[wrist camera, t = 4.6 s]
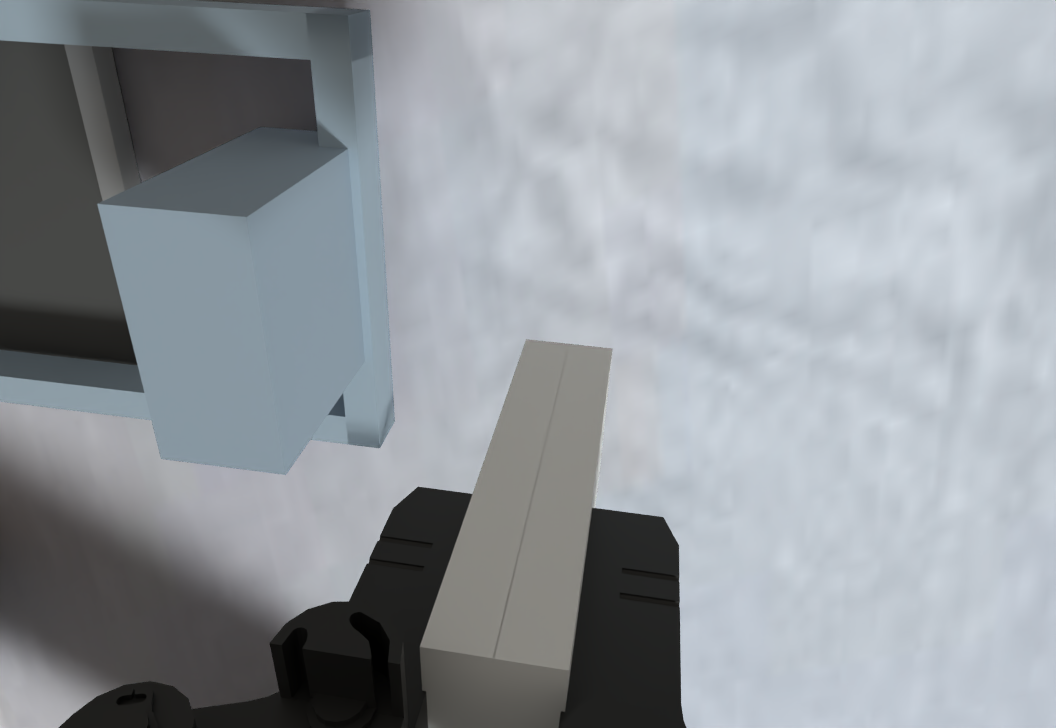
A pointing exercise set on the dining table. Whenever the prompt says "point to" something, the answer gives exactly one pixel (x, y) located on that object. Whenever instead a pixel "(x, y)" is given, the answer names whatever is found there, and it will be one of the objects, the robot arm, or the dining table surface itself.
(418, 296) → the dining table surface
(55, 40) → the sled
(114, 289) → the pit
